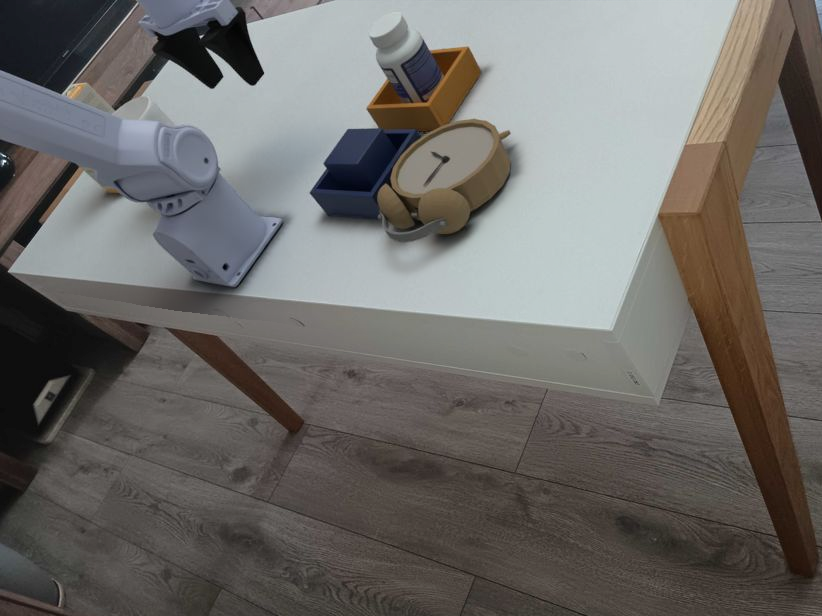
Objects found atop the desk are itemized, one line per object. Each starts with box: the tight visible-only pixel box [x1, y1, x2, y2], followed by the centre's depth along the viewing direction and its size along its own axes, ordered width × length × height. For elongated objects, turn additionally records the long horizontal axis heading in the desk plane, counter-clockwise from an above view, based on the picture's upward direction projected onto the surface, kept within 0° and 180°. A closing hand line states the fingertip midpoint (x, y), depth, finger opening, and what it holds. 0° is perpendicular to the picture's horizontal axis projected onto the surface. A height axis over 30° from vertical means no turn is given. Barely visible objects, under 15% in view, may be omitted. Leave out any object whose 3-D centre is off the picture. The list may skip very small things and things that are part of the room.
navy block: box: [322, 127, 397, 192], centre depth 77 cm, size 5×5×5 cm
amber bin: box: [365, 46, 482, 132], centre depth 83 cm, size 9×9×3 cm
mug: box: [112, 95, 177, 126], centre depth 94 cm, size 12×8×11 cm
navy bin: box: [309, 129, 422, 221], centre depth 78 cm, size 9×9×3 cm
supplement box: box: [61, 82, 120, 194], centre depth 105 cm, size 8×5×13 cm, turn 152°
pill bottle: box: [368, 11, 444, 104], centre depth 80 cm, size 5×5×10 cm
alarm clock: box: [377, 118, 512, 243], centre depth 71 cm, size 11×5×15 cm
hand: (237, 81), depth 85 cm, fingers open, 7 cm apart
